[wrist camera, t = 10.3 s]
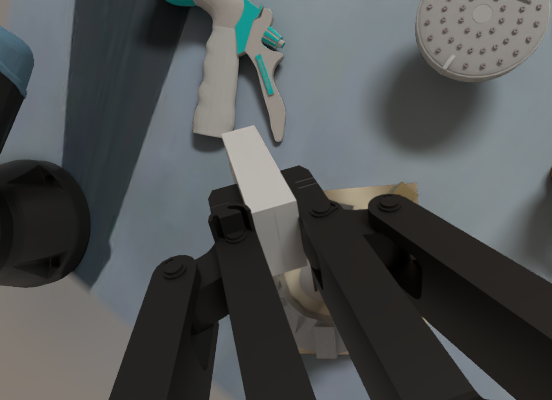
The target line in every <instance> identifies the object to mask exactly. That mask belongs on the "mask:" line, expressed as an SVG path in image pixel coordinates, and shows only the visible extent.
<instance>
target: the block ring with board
mask: <svg viewBox="0 0 552 400" xmlns="http://www.w3.org/2000/svg"><path fill="white" fill-rule="evenodd" d="M387 194H398V195H401V196H404V197H406V198H408V199H409V200H411V201H414V200H415V199H416V198H417V196H418V194H417V193H415V192H414V191H413V190H412V189H410V188H409V187H408V186H407V185H405V184H404V183H403V182H401V183H399V184H397V185H395V186H394V187H393V188H392V189H391V190H390V191H389V192H388V193H387ZM337 203H339V204H340V205H341V206H342V207H343V209H347V210H354V206H355V205H351V204H345V203H340V202H337ZM360 209H361V208H360ZM273 280H274V283H275V285H276V288H277V291H278V294H279V297H280V299H281V302H282V305H283V308H284V311H285V313H286V316H287V319H288V322H289V325H290V328H291V330H292V333H293V335H294V334H295V338H294V339H295V342H296V344H297V347H299V348H303V349H306V350H310V351H313V352H316V359H337V356H338V354H339V353H343V352H347V349H346V347H345V344H344V342H343V340H342V338H341V336H340V334H339V332H338V330H337V327H336V325H335V323H334V321H333V319H332V317H331V315H330V316H328V315H324V314H320V313H316V312H312V311H308V310H307V309H305V308H304V307H303V306H302V305H301V304H300V303H299V302H298V301H297V300H296V299H295V298H294V297H293V296H291V293H290V290H289V288H288V285H287V282H286V279H285V276H284V273H282V274H279V275H276V276H273Z"/></svg>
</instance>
